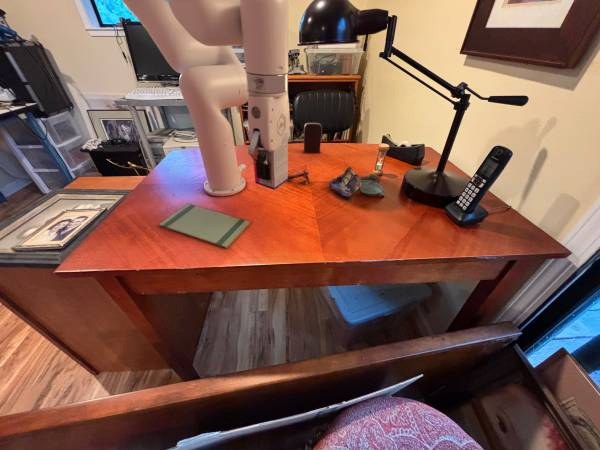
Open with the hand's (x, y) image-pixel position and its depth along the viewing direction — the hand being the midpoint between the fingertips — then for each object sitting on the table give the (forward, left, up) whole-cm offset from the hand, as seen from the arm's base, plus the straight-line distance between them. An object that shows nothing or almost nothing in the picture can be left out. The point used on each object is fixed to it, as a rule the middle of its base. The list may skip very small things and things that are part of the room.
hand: (271, 171), depth 55 cm
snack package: (-22, +15, -13) cm, 30 cm away
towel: (+10, -14, -13) cm, 22 cm away
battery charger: (-46, -6, -13) cm, 48 cm away
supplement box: (0, 0, -3) cm, 3 cm away
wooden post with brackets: (-20, -1, -13) cm, 24 cm away
